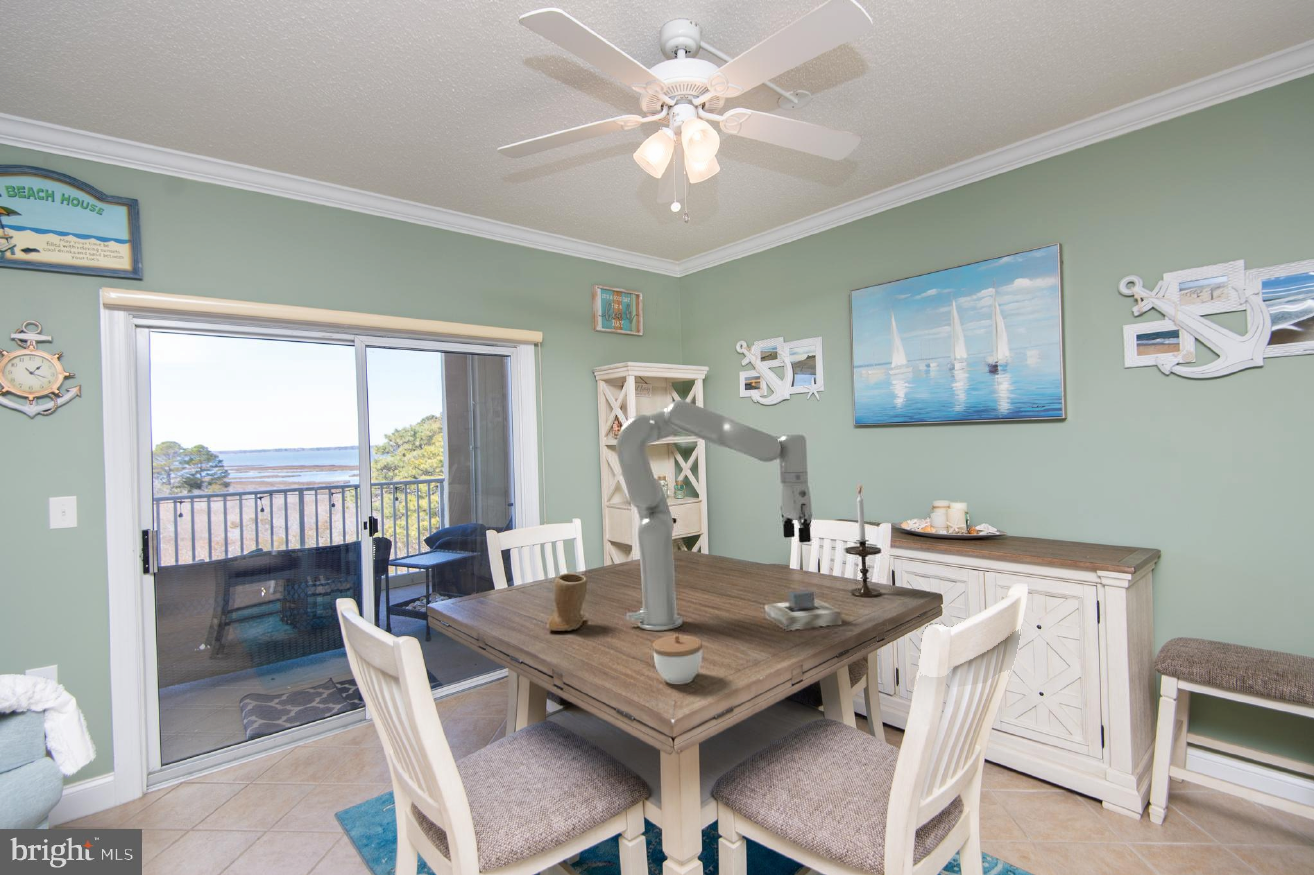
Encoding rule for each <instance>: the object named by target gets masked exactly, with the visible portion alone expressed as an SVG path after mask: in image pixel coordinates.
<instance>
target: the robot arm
mask: <svg viewBox="0 0 1314 875" xmlns="http://www.w3.org/2000/svg"><path fill="white" fill-rule="evenodd" d="M681 432H682V433H684V434H687V435H689V436H692V437H695V438H697V439H700V440H702V441H705V442H708V443H710V444H712V445H715V446H718V447H721V448H727V449H730V450H733V451H736V452H737V453H741V454H743V455H746V456H748V457H751V458H753V459H756V460H758V461H760V462H764V463H771V462H774V461H775V460H776V461H777V460H779V474H780V480H779V481H780V485H781V505H780V511H781V518H782V520H781V522H782V528H783V530H782V531H783V537H784V539H785V538H794V537H795V531H796V530H795V523H794V521H797V523H798V526H799V527H798V542H799V543H802V544H804V543H810V542H811V541H812V539H811V537H812V536H811V527H812V521H813V520H812V518H813V509H812V507H813V506H812V498H811V490H810V486H809V476H808V457H807V456H808V454H807V450H808V449H807V438H806V436H805V435H803V434H799V433H797V434H783V435H779V436H777V435H772V434H770V433H768V432H765V431H762V430H759V429H757V428H754V427H751V426H750V425H747V424H743V423H741V422H738V421H736V420H733V419H732V418H730V417H727V416H724V415H722V414H720V413H716V412H714V411H712V410H710V409H706V408H704V407H701V406H699V405H696V404H694V403H692V402H689V401H687V400H682V399H681V400H680V399H679V400H677V399H676V400H675V401H672V402H671V403H670V404H669V405H668V406H666V407H665V408H663V409H659V410H657V411H655V412H652V413H650V414H637V415H634V416H632V417H631V418H630V419H628V420H627V421H626V422H625V423H624V424H623V426H622V427H621V429H620V431H619V433H618V435H617V438H616V445H615V446H616V448H615V449H616V456H617V460H618V464H619V467H620V470H621V474H622V478H623V481H624V485H625V487H626V488H625V489H626V491H627V495H628V499H629V502H630V504H632V506H633V507H634V508H635V509H636V510H637V514H638V518H639V520H640V523H639V524H638V528H637V541H638V549H639V561H640V564H639V565H640V577H641V578H640V580H641V595H642V598H641V599H642V607H640V610H637V611H636V612H627V613H626V620H627V621H633V622H637V621H638V622H637V624H638V627H639V628H641V629H643V630H647V631H668V630H672V629H676V628H678V627H680V626H681V625H683V618H682V617H681V616H679V615H678V613H677V599H676V597H677V596H676V595H677V594H676V581H675V580H676V578H675V577H676V576H675V562H674V548H673V532H674V520H673V516H672V514H671V511H670V507H669V504H668V500H667V497H666V495H665V491H664V487H663V486H662V484H661V482H660V481H659V480H658V479H657V478H656V477H655V476H654V475H655V474H654V472H653V470H652V466H651V462H650V459H649V456H648V454H647V445H651V444H653V443H656V442H658V441H661V440H663V439H666V438H668V437H671V436H674V435H676V434H679V433H681Z"/></svg>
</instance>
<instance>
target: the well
mask: <svg viewBox="0 0 1314 875" xmlns="http://www.w3.org/2000/svg"><path fill="white" fill-rule="evenodd" d="M814 604H815V610H808V611H799V612H791V611H789V601H785V602H778V603H770V604H764V610H765V618H766V619H768V620H769V621H771V622H773V624H775V623H776V624H775V625H777V626H778V625H779V626H778V627H780V628H781V627H782V630H784V629H785V630H784V631H785V632H790V630H792V631H796V630H795V629H800V630H804V628H807V629H811V628H810V627H815V628H820V627H819V626H823V627H827V626H826V625H830V626H836V625H837V626H838V625H842V611H841V610H839V609H837V608H835V607H833V606H832V605H829V604H827V603H825V602H823V601H821V600H819V599H817V598H814Z"/></svg>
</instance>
